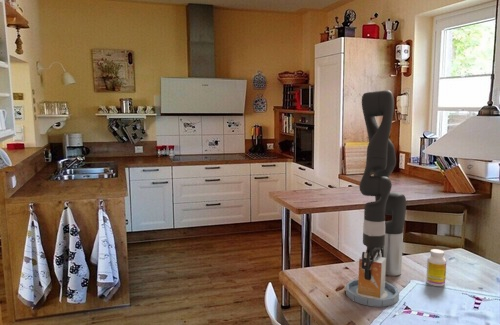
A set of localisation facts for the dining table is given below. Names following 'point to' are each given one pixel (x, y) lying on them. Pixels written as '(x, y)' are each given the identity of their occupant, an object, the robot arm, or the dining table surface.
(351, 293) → the grey shallow round dish
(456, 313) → the dining table surface
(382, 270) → the small box
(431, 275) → the supplement bottle
